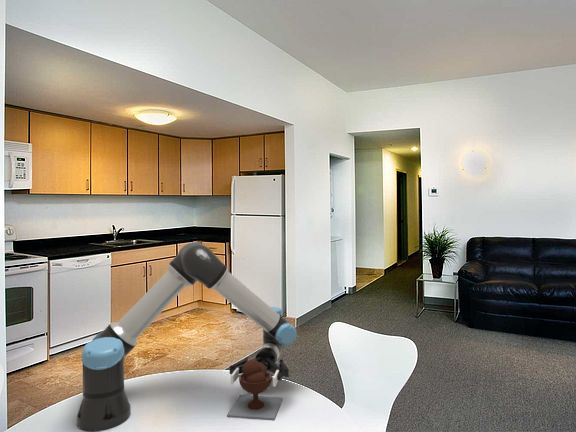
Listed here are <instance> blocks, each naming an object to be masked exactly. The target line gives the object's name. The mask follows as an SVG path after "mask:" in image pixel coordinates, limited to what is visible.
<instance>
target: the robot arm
mask: <svg viewBox="0 0 576 432" xmlns="http://www.w3.org/2000/svg"><path fill="white" fill-rule="evenodd" d="M197 282H199V283H200V284H201V285H203V286H205V287H206V288H207V289H208V290H214V291H215V292H217V293H218V294H219V295H220V296H221V297H222V298H224V299H225V300H226V301H228V302H229V303H230V304H231V305H233V306H234V307H236V309H238V310H239V311H240V312H241V313H242V314H243V315H245V316H247V317H248V318H249V319H250V320H252V321H253V322H254V323H255V324H256V325H257V326H259V327H260V328H261V329H262V346H261V348H260V349H259V351H258V352H257V354H256V355H255V357H254V359H252V360H257V361H258V362H260V363H262V364H263V365H265V366H266V367H267V372H269V373H272V374H273V375H272V387H276V386H277V384H278V381H281V380H282V379H283V378H284V377H285V378H289V377H290V373H289V371H290V369H289V368H288V367H287V365H286V364H285V363H284V360H283V359H279V358H280V356H281V355H282V353H283V351H284V348H285V346H290V345H292V344H294V343H295V342H296V340H297V336H298V335H297V334H298V333H297V332H298V331H297V329H296V328H295V326H294V325H293V324H292V323H290V322H289V321H287V320H286V319H285V318H284V317H283V313H282V311H283V310H282V308H281V307H275V306H270V305H268V304H267V303H266V302H265V301H264V300H262V299H261V297H259V296H258V295H257V294H255V293H254V292H253V291H252V290H250V288H248V287H247V286H246V285H245V284H244V283H242V282H241V281H240V280H239V279H238V278H236V276H234V275H233V274H232V273H231V272H229V268H228V266H227V265H226V264H224V262H222V260H220V259H219V257H218V256H217V255H216V254H215V253H214V252H213V251H212V249H211V248H209V247H208V246H206V245H204V243H203V244H202V243H200V242H191V243H187V244H184V246H182V247H181V249H180V250H179V251H178V254H177V255H176V256H174V258H173V259H172V260H171V261H170V262H169V263H168V269H167V270H166V272H165V273H164V274H163V275H162V276H161V277H160V278H159V279H158V280H157V281H156V282H155V284H153V286H152V287H151V288H150V289H149V290H148V291H147V292H145V294H144V295H143V296H142V297H141V298H140V299H139V300H138V301H137V302H136V303H135V304H134V305H133V306H132V307H131V308H130V309H129V310H128V311H127V312H126V313H125V314H124V315H123V316H122V317H121V318H120V319H119V321H114V322H110V323H109V324H108V325H107V326H106V328H104V330H102V331H100V332H99V333H98V334H96V335H95V336H94V337H93V339H91V341H89V342H87V343H86V344H85V345H84V347H83V348H82V352H81V353H82V354H81V361H82V362H81V363H82V399H81V403H80V406H79V409H78V412H77V416H76V425H78V426H77V428H79V427H80V428H81V430H82V429H83V430H82V431H89V432H90V431H91V432H95V431H97V432H98V431H103V430H109V429H111V428H113V427H116V426H119V425H120V424H123V423H124V422H125V421H127V420H128V419H129V418H130V417H131V414H132V412H131V410H132V409H131V403H130V401H129V398H128V395H127V394H126V390H125V358H126V357H127V355H129V354H130V353H131V351H132V350H133V349H134V348H135V347H136V346H137V344H138V342H137V341H138V338H139V337H140V336H141V335H142V334H143V332H145V330H146V329H147V328H148V327H149V326H150V325H151V324H152V323H153V322H154V321H155V320H156V319H157V317H158V316H159V315H160V314H162V312H163V311H164V310H165V309H166V308H167V307H168V306H169V305H170V304H171V303H172V302H173V301H174V300H175V299H176V297H177V296H178V295H180V294H181V292H182V291H183V290H184V289H185V288H186V287H190V286H191V287H192V286H194V284H196V283H197ZM249 360H250V358H249V357H245V358H244V359H243V360H240V361H238V362H236V363H234V364H231V365H229V374H230V384H231V385H234V384H235V382H237V379H239V375H241V374H242V373H243V371H242V368H243V365H244V364H245V363H246V362H247V361H249ZM80 428H79V429H80Z"/></svg>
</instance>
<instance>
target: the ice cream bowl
mask: <svg viewBox="0 0 576 432" xmlns="http://www.w3.org/2000/svg"><path fill="white" fill-rule="evenodd" d="M242 371H243V373H242V374H239V377H238V380H239V385H240V387H241V388H242V389H243V390H244V391H245V392H247V394H248V393H249V394H251V395H252V396H253V400H252V401H251V402H249V403H248V408H250V409H253V410H257V409H261V408H263V407H264V402H262V401H260V400H258V396H260V395H259V394H262V393H263V392H265V391H267V390H268V389H269V387H270V386H271V385H272V383H273V373H272V372H269V371H267V367H266V366H265V365H263V364H262V363H260V362H258V361H257V360H253V359H249V361H247V362H246V363H245V364H244V365H243V368H242Z"/></svg>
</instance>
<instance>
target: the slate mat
mask: <svg viewBox="0 0 576 432" xmlns="http://www.w3.org/2000/svg"><path fill="white" fill-rule="evenodd" d="M252 400H253V395H252V394H251V395H249V394H239V395H238V397H237V398H236V400H235V402H234V403H233V404H232V406H231V408H230V410H228V413H227V414H226V418H237V419H238V418H239V419H248V420H249V419H250V420H251V419H253V420H263V421H264V420H266V421H275V419H276V417H277V414H278V412H279V409H280V407H281V404H282V402H283V400H284V398H283V397H282V396H267V395H266V396H265V395H258V400H260V401H262V402H264V407H263V408H261V409H257V410H253V409H250V408H248V403H249V402H251V401H252Z"/></svg>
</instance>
